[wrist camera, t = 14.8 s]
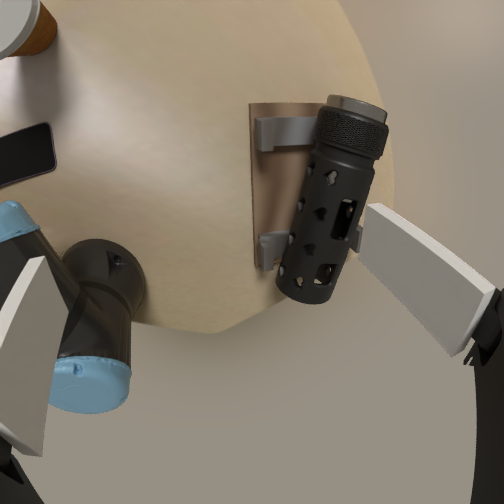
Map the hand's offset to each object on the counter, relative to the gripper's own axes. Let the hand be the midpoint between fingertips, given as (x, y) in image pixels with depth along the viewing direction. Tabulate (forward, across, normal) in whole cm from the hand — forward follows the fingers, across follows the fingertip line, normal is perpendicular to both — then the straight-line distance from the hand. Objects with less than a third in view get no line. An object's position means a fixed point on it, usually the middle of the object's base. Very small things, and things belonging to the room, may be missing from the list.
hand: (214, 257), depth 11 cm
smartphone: (+32, -25, +3) cm, 41 cm away
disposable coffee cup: (+32, -19, +20) cm, 42 cm away
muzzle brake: (+29, +19, -9) cm, 36 cm away
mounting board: (+32, +19, -9) cm, 38 cm away
